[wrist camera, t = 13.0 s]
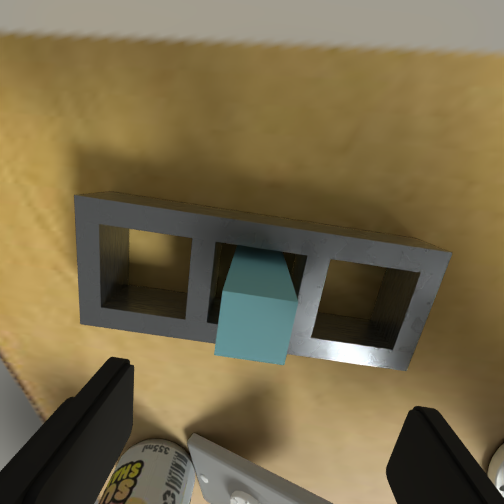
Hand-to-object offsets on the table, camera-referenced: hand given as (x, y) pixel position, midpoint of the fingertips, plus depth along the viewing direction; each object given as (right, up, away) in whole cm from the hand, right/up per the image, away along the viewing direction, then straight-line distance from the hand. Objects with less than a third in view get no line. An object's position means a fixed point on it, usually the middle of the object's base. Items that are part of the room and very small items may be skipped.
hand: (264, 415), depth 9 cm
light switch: (0, -16, +19) cm, 25 cm away
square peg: (0, +4, +12) cm, 13 cm away
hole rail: (0, +4, +13) cm, 13 cm away
